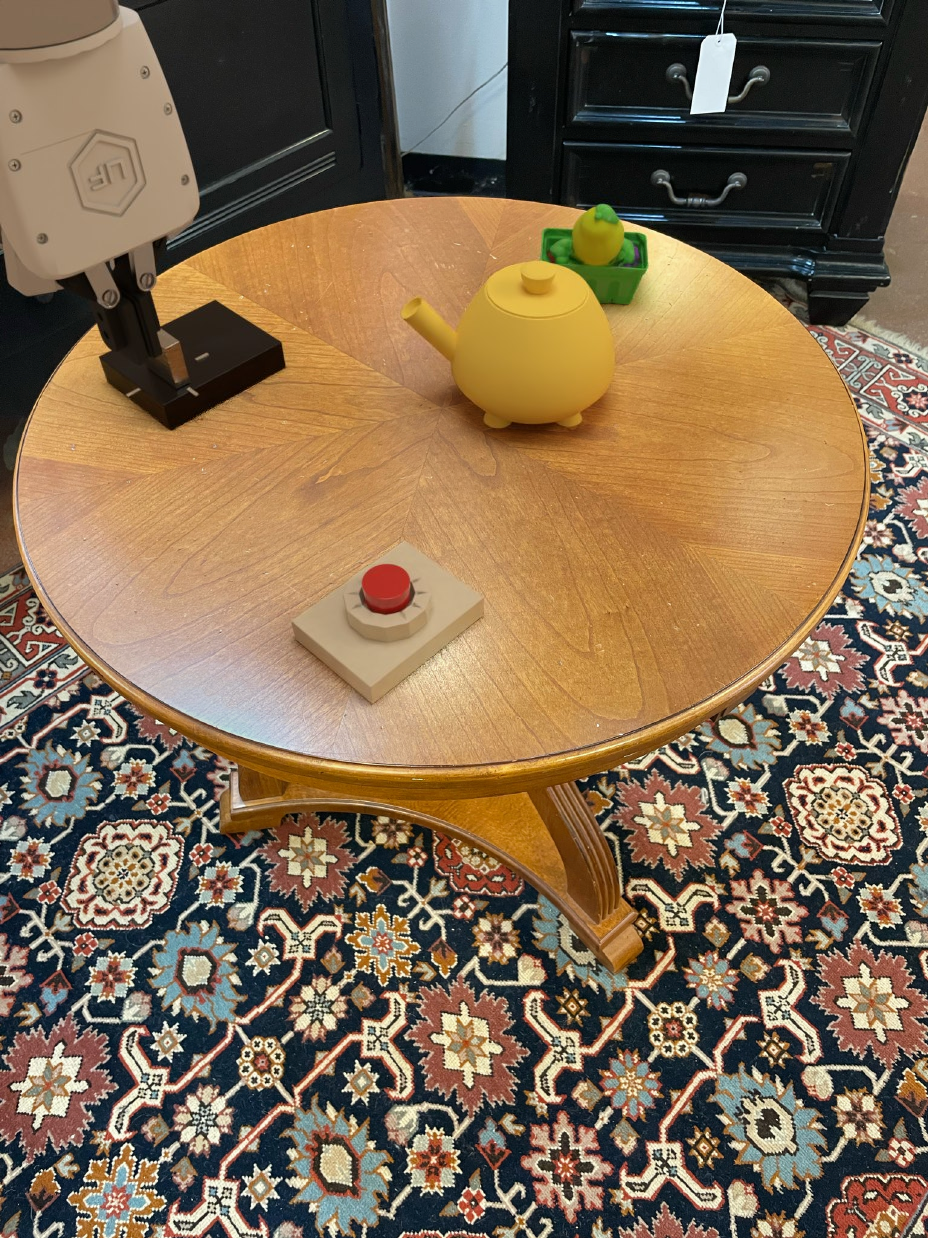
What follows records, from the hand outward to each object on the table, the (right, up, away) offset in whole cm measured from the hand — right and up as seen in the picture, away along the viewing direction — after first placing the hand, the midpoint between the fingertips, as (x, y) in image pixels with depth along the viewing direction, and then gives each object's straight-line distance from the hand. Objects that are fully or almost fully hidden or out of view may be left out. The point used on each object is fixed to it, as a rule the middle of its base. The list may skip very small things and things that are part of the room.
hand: (136, 350), depth 56 cm
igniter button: (+13, -14, +16) cm, 25 cm away
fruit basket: (+33, +20, +50) cm, 63 cm away
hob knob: (-9, +8, +35) cm, 37 cm away
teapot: (+24, +6, +38) cm, 45 cm away
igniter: (+13, -16, +19) cm, 28 cm away
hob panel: (-8, +9, +40) cm, 42 cm away
